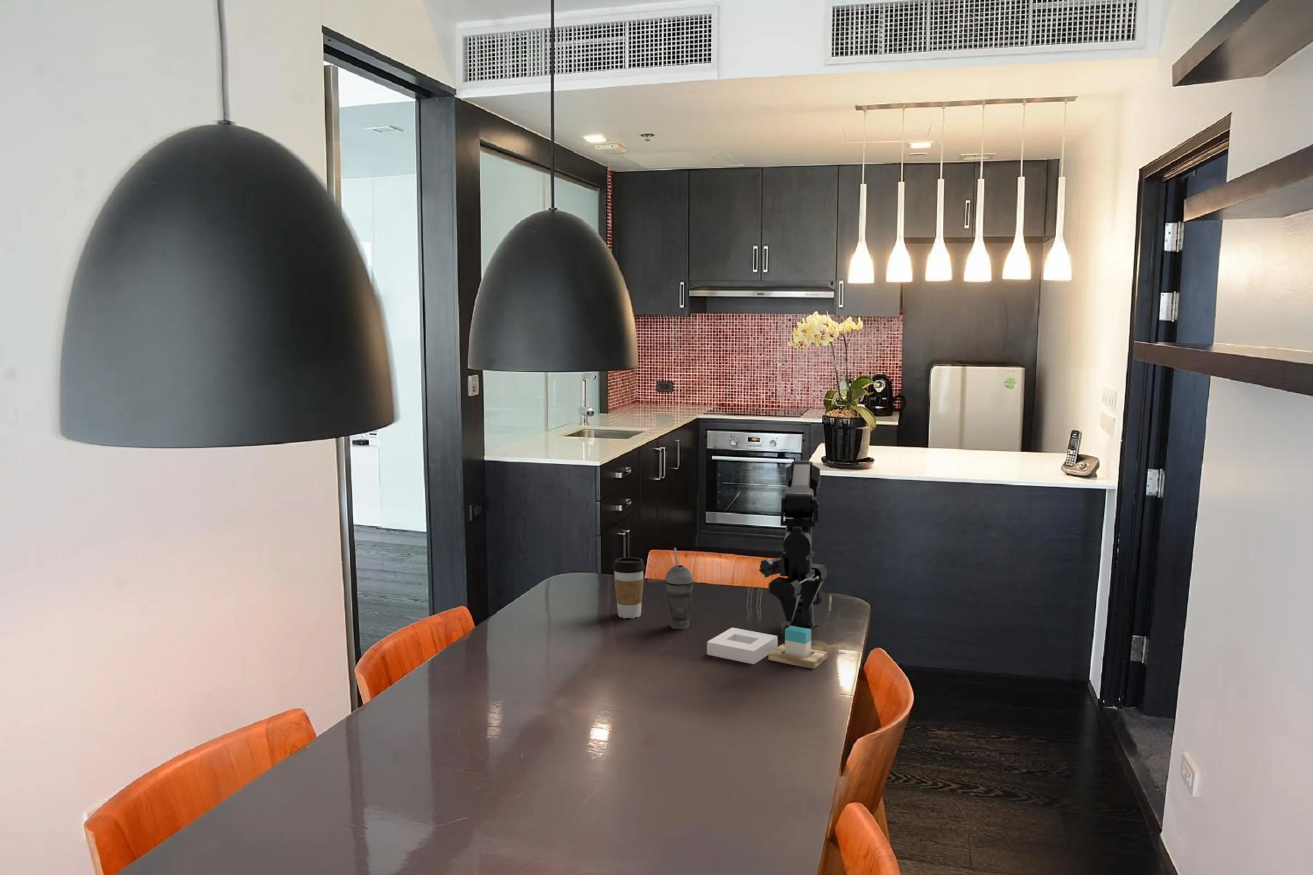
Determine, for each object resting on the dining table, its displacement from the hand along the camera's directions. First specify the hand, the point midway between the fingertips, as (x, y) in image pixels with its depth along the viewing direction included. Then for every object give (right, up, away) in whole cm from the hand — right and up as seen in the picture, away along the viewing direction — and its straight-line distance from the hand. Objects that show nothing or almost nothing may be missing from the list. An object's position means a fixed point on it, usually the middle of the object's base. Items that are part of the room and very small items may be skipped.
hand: (798, 616), depth 210 cm
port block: (-12, -9, +6) cm, 16 cm away
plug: (0, -10, +1) cm, 10 cm away
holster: (0, -10, +1) cm, 10 cm away
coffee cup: (-39, -7, +35) cm, 52 cm away
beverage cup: (-26, -8, +25) cm, 37 cm away
